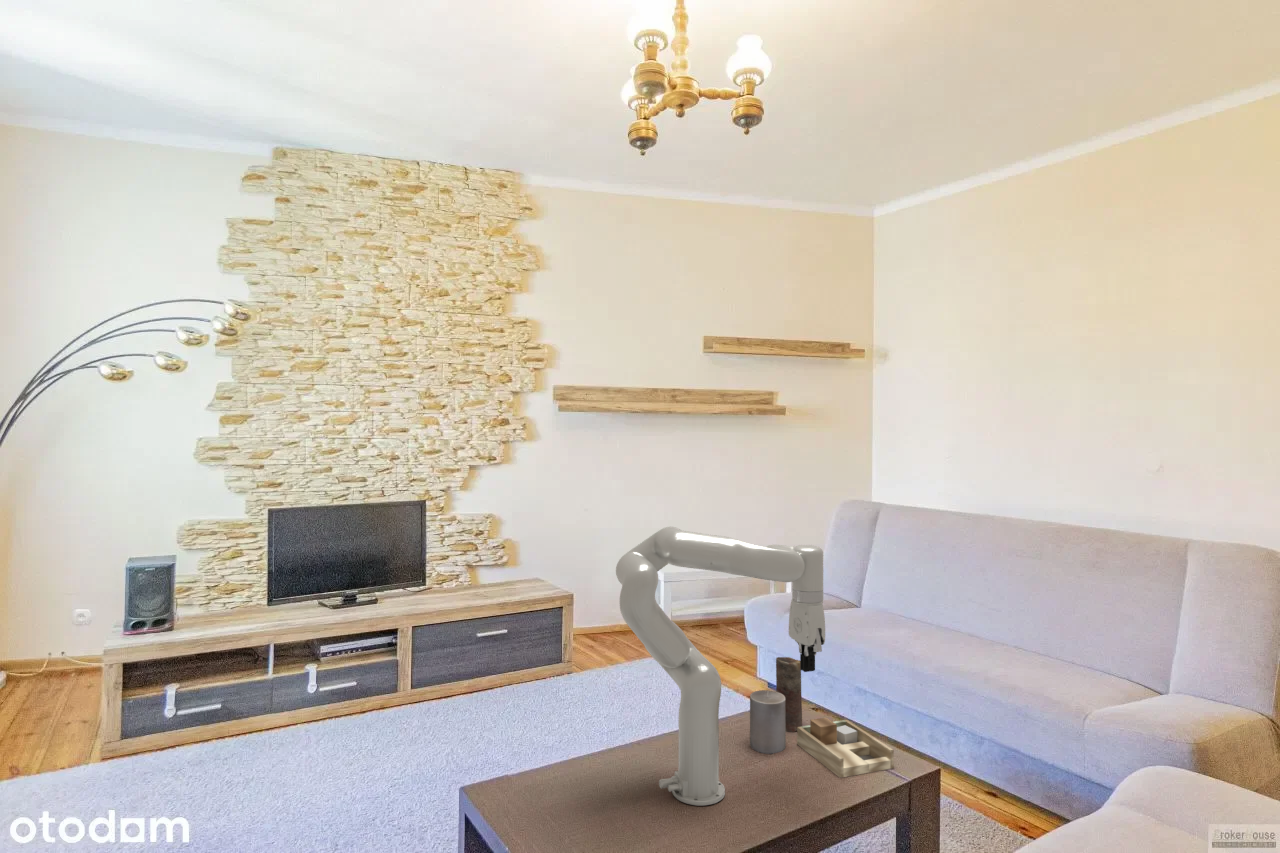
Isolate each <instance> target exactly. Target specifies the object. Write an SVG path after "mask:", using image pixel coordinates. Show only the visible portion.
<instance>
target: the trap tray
mask: <svg viewBox="0 0 1280 853" xmlns="http://www.w3.org/2000/svg"><path fill="white" fill-rule="evenodd" d="M833 722H834V723H835V724H837V727H840V726H844V725H846V726H848V727H850V728H852V729H854V730H856V731H857V742H856V743H850V744H844V745H842V744H840V743H839V742H837V743H836V744H829V745H825V744H823V743H822V742H821V741H819V740H818V739H817V738H815V737H814V736H813V735H811V734H810V725H802V726H801V727H797V730H796V735H797V736H796V743H797V746H799V747H800V748H801V749H802V750H803V751H804V752H806V753H808V754H809V755H810V756H811V757H813V758H814V759H815V760H816V761H817V762H819V763H820V764H822V765H823V766H824V767H825V768H826V769H828V770H829V771H830V772H832V773H833V774H834V775H836V776H837V777H838V778H839V779H841V778H842V779H843V778H849V777H853V776H859V775H864V774H871V773H875V772H880V771H887V770H892V769H895V766H894V764H895V760H894V759H895V758H894V757H895V753H894V752H895V751H894V750H895V749H894V748H892V747H890V746H889V745H887V744H886V743H884V742H882V741H881V740H880V739H878V738H876V737H875V736H873V735H872V734H870V733H869V732H867V731H865V730H864V729H863V728H861V727H860V726H858V725H856V724H855V723H854V722H852V721H850V720H848V719H842V720H836V721H833Z"/></svg>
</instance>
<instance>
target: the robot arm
mask: <svg viewBox="0 0 1280 853" xmlns="http://www.w3.org/2000/svg"><path fill="white" fill-rule="evenodd" d="M668 564H669V565H671V566H675V567H679V568H686V569H687V568H688V569H695V570H696V569H697V570H703V571H704V570H705V571H712V572H717V573H718V572H720V573H725V574H730V575H735V576H743V577H746V578H747V577H749V578H752V579H753V578H754V579H759V580H765V581H766V580H767V581H772V582H781V583H791V590H792V591H791V594H792V595H791V600H790V606H789V613H788V614H789V617H788V636H789V637H790V638H791V639H792V640H794V641H795V643H796V644H798V653H799V655H800V656H799V658H800V659H799V660H800V669H801V672H802V671H803V672H804V673H808V672H815V671H816V656H817V653H821V652H822V651H823V645H825V642H826V620H825V618H826V617H825V610H824V609H825V608H824V551H823V549H822V547H820V546H817V545H812V544H811V545H810V544H801V545H800V544H799V545H796V546H795V545H794V546H792V545H781V544H770V545H766V546H760V545H756V544H755V545H754V544H751V543H749V542H745V541H742V540H740V539H737V538H734V537H729V536H723V535H716V534H715V535H714V534H708V533H701V532H694V531H687V530H682V529H680V528H678V527H675V526H666V527H663V528H661V529H660V530H659V529H658V530H657V531H656V532H655V533H653V534H652V535H650V536H649V537H647V538H646V539H644V540H643V541H642V542H640V543H639V544H637V545H635V546H634V547H633V548H632V549H630V550H629V551H627V552H626V553H625V554H623V555H622V556H621V557H620V558H619V559H618V561H617V564H616V567H615V576H616V579H617V580H618V582H619V584H621V585H622V586H621V589H620V594H619V610H620V614H621V616H622V618H623V620H624V622H625V623H626V625H627V626H628V627H629V629H630V630H631V631H632V633H634V634H635V636H636V637H637V639H638V640H639V641H640V642H641V643H642V645H644V648H645V650H646V651H647V652H648V653H649V655H650V656H651V657H652V658H653V659H654V660H655V662H657V663H658V665H660V666H661V668H662V669H663V670H664V671H665V673H667V675H668V676H670V678H671V680H673V682H675V684H676V685H677V686H678V688H679V690H680V701H679V706H678V707H679V708H678V720H677V721H678V724H677V726H678V770H675V771H674V775H673V776H671V777H669V778H661V779H659V780H658V786H659V789H667V791H668V792H671V793H672V795H673V797H674V799H676V800H678V801H679V802H682V803H684V804H687V805H690V806H699V807H700V806H710V805H714V804H717V803H718V802H720V801H722V800H723V799H724V797H725V795H726V786H724V784H723V783H722V782H721V781H720V780H719V779H720V778H719V768H720V767H719V757H720V756H719V751H720V750H719V746H720V745H719V740H720V739H719V733H720V732H719V731H720V729H719V713H720V712H719V711H720V701H721V697H722V696H721V694H722V679H721V676H720V674H719V671H718V670H717V668H716V667H715V665H713V664H712V662H710V660H708V659H707V658H706V657H705V656H704V655H703V654H702V652H700V650H699V649H697V647H696V646H695V645H694V644H693V643H692V641H691V640H690V639H689V637H687V635H686V634H685V632H684V631H683V629H682V628H680V627H679V625H677V623H675V622H674V621H673V620H672V619H670V617H669V616H668V615H667V614H666V612H665V611H664V610H663V609H662V608H661V606H660V605H659V604H658V602H657V600H656V591H657V588H658V584H659V573H658V572H659V571H660V570H662V569H663V568H665V567H666V566H667V565H668Z"/></svg>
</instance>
